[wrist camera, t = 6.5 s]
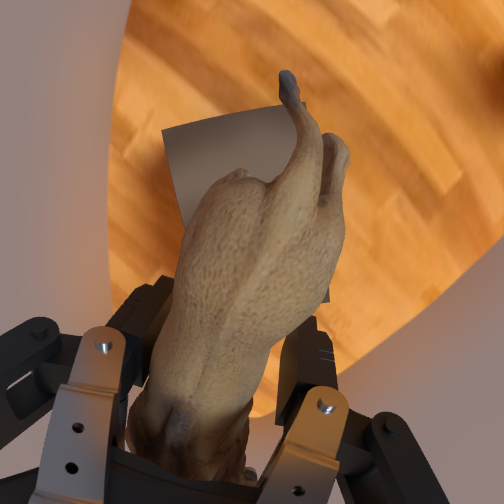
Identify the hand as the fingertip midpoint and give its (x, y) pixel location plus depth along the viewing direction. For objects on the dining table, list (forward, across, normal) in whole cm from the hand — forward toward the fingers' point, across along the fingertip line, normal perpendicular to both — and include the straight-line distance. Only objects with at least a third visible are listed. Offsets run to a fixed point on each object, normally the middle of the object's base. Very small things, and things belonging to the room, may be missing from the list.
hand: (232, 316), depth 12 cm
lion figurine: (+1, 0, -1) cm, 2 cm away
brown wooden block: (+20, +1, 0) cm, 20 cm away
